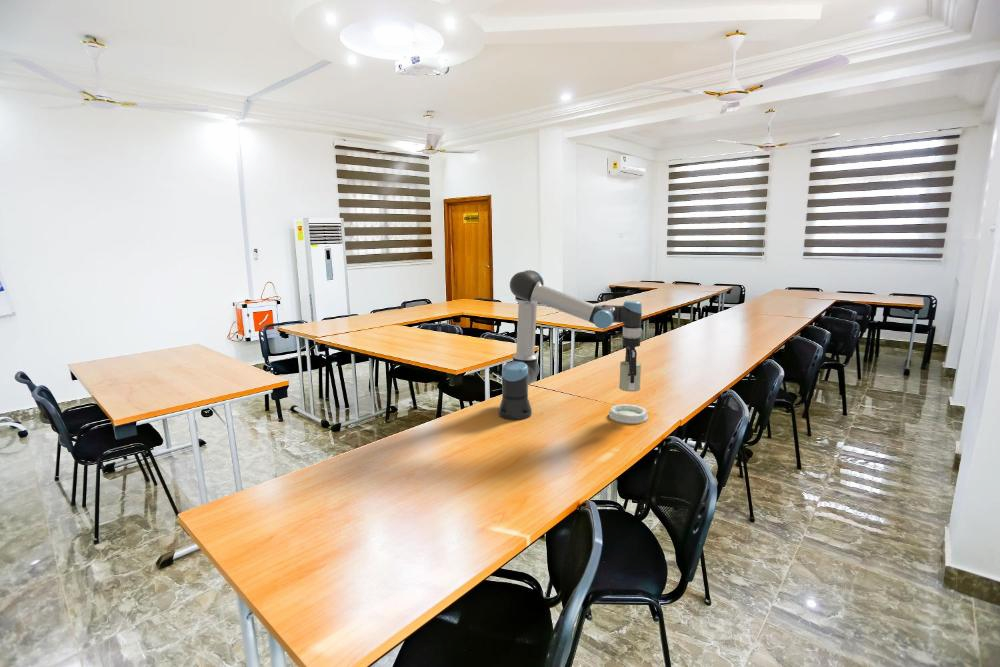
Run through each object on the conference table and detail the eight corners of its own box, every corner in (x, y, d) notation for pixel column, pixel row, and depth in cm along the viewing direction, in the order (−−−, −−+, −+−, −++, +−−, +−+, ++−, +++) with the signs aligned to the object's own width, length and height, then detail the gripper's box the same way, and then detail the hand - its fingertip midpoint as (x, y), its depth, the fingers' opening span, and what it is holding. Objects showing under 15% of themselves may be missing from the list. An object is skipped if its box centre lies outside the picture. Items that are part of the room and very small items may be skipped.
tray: (611, 423, 215) (611, 416, 214) (607, 409, 232) (607, 403, 231) (651, 424, 213) (651, 417, 213) (644, 410, 230) (644, 404, 229)
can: (614, 387, 222) (615, 361, 220) (631, 384, 226) (632, 358, 224) (628, 392, 214) (629, 365, 212) (644, 389, 218) (646, 363, 215)
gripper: (645, 341, 205) (642, 394, 209) (636, 332, 226) (634, 379, 230) (626, 341, 205) (624, 393, 210) (619, 332, 226) (617, 379, 231)
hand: (629, 386), depth 220 cm, fingers closed on can, 9 cm apart
